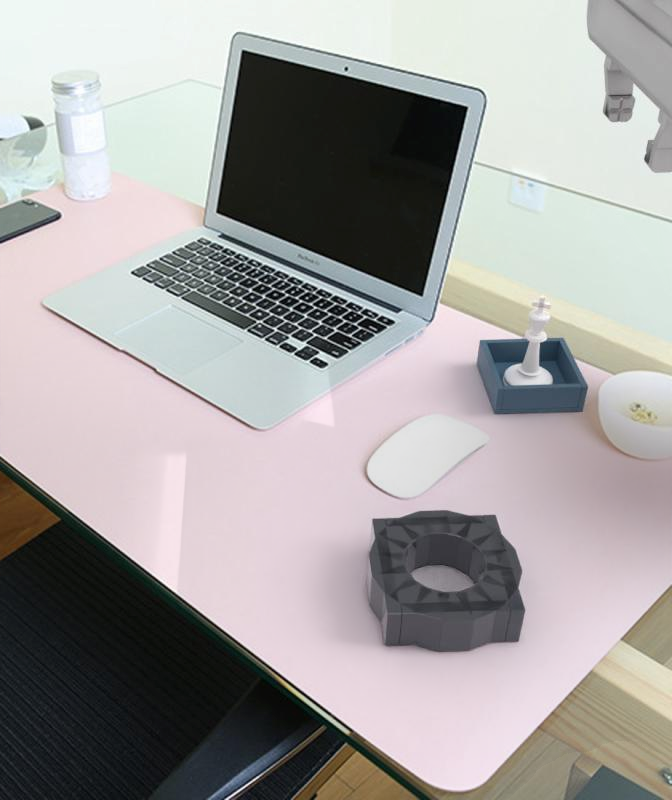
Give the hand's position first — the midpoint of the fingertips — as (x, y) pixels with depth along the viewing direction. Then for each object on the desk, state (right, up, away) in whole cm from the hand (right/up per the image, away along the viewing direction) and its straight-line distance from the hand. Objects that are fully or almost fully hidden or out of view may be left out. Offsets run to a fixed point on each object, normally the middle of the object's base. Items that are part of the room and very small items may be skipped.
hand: (636, 142), depth 69 cm
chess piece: (0, -17, +28) cm, 32 cm away
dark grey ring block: (-13, -34, +6) cm, 37 cm away
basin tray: (0, -17, +28) cm, 33 cm away
